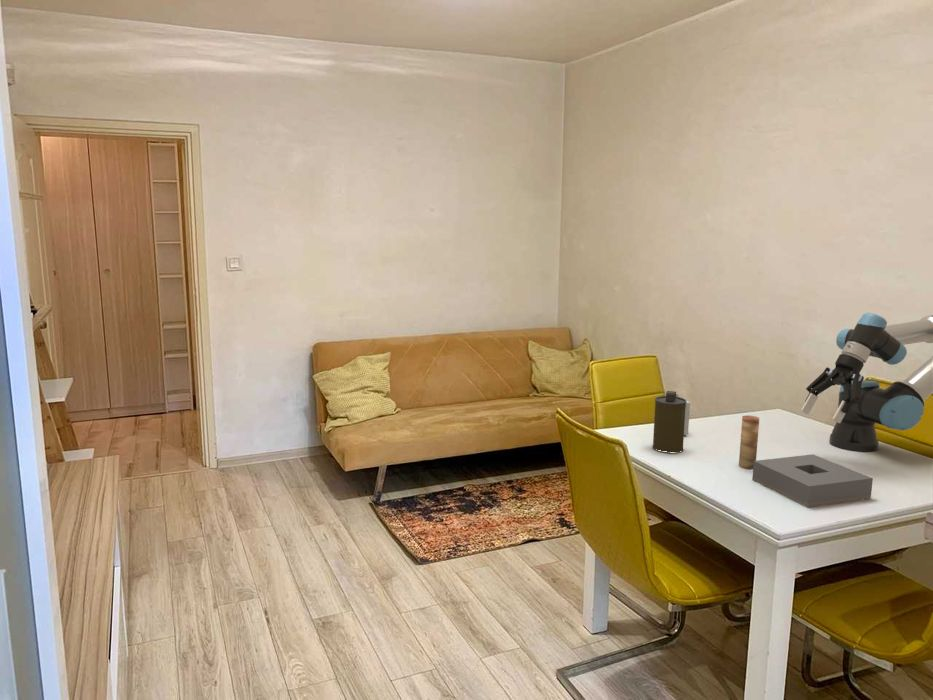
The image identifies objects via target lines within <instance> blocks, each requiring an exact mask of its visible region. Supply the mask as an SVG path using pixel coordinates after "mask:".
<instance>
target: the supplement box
mask: <svg viewBox="0 0 933 700" xmlns="http://www.w3.org/2000/svg"><path fill="white" fill-rule="evenodd" d="M685 400H686V401H687V402H686V408H685V425H684V435H688V436H689V426H690V424H689V423H690V407H691V406H690V405H691V402H690V401H688V400H687V399H685Z"/></svg>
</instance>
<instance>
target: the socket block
mask: <svg viewBox="0 0 933 700" xmlns="http://www.w3.org/2000/svg"><path fill="white" fill-rule="evenodd" d="M751 481H754V482H755V481H756V483H757V482H758V483H757V484H759V483H760V485H761V484H762V485H761V486H764V487H766V488H767V489H770V490H771V491H773V490H774V491H773V492H775V491H776V492H775V493H777V492H778V494H779V495H782V496H784V497H786V498H788V499H790V500H792V501H794V502H796V503H798V504H800V505H802V506H804V507H806V508H811V507H818V506H827V505H834V504H840V503H848V502H849V501H850V502H854V501H855V500H857V501H861V499H864V500H869V499H868V498H871V499H872V489H873V481H874V478H873V477H871V476H868V475H866V474H863V473H861V472H859V471H856V470H854V469H851V468H848V467H846V466H843V465H841V464H838V463H836V462H834V461H831V460H828V459H826V458H823V457H820V456H818V455H815V454H805V455H803V454H802V455H795V456H794V455H793V456H786V457H777V458H767V459H760V460H759V459H758V460H757V459H756V461H754V464H753V469H752V479H751Z"/></svg>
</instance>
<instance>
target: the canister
mask: <svg viewBox="0 0 933 700" xmlns="http://www.w3.org/2000/svg"><path fill="white" fill-rule="evenodd" d="M686 400H687V399H686V398H684V397H680V396H678V394H677V391H675V390H674V391H673V390H667V391H666V393H665V395H661V396H656V397H655V398H654V418H653V420H654V421H653V438H652V440H653V441H652V446H651V447H653V448H654V449H657V450H661V451H667V452H680V451H682V452H683V451H684V450H685V449H683V448H684V439H685V438H684V437H685V436H684V425H685V408H686V402H687V401H688V400H687V401H686ZM653 448H652V449H653ZM654 449H653V450H654ZM680 453H681V452H680Z"/></svg>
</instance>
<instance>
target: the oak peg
mask: <svg viewBox="0 0 933 700" xmlns="http://www.w3.org/2000/svg"><path fill="white" fill-rule="evenodd" d="M741 418H742V419H741V429H740V432H741V433H740V443H739V444H740V445H739V454H738V455H739V456H738V457H739V458H738V467H740V468H742V469H747V470H753V464H754V461H757V456H758V455H757V453H758V441H759V440H758V439H759V429H760V417H759V416H756V415H749V414H748V415H743V416H742V417H741Z"/></svg>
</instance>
